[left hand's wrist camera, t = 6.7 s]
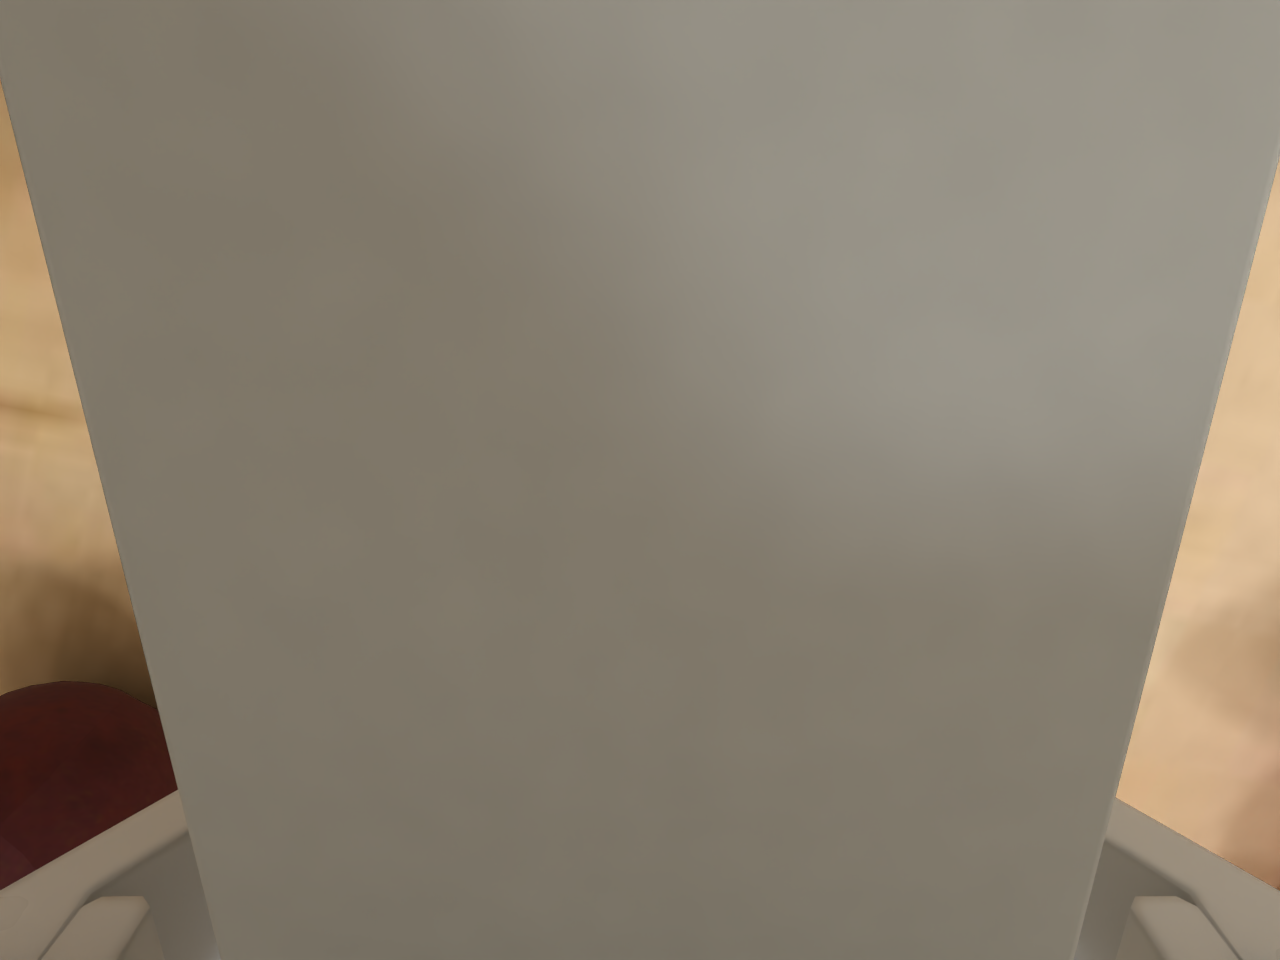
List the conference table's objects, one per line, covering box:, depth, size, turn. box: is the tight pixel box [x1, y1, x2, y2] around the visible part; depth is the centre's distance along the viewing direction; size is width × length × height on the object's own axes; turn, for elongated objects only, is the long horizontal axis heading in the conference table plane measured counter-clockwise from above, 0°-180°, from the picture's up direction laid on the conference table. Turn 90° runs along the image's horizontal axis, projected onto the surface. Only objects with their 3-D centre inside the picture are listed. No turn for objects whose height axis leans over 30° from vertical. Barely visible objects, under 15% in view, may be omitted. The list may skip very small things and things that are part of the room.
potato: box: [0, 681, 178, 890], centre depth 20 cm, size 7×8×7 cm
